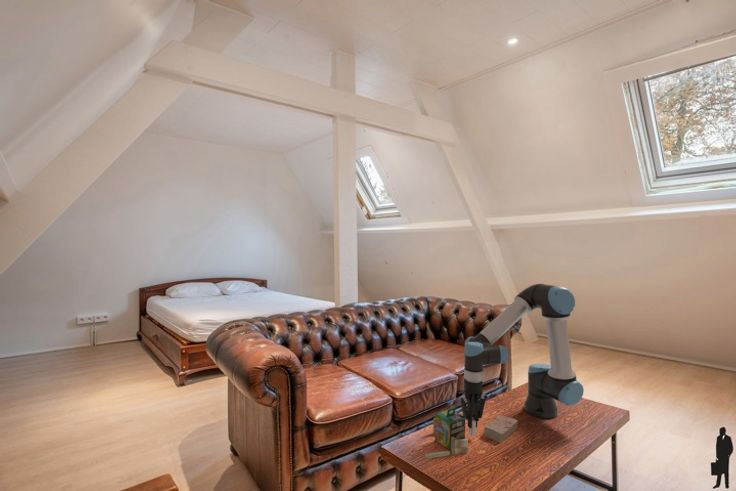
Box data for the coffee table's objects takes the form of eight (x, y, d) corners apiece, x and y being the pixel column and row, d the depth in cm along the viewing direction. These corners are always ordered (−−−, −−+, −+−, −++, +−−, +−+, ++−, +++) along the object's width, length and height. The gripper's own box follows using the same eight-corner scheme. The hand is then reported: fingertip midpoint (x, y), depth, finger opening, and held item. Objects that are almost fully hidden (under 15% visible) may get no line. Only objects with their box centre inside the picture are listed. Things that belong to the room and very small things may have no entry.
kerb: (448, 453, 146) (448, 450, 146) (449, 455, 145) (449, 452, 145) (425, 457, 143) (425, 454, 143) (426, 458, 142) (426, 455, 142)
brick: (501, 444, 154) (501, 432, 154) (482, 436, 160) (483, 425, 160) (518, 430, 165) (518, 419, 165) (500, 423, 171) (500, 413, 171)
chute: (447, 430, 163) (447, 416, 163) (468, 452, 146) (468, 436, 146) (433, 432, 161) (433, 418, 161) (452, 455, 145) (452, 438, 145)
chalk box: (450, 434, 160) (450, 400, 160) (466, 444, 153) (466, 408, 152) (434, 440, 155) (434, 405, 155) (449, 451, 148) (450, 414, 148)
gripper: (481, 375, 162) (480, 428, 162) (455, 377, 158) (454, 432, 159) (491, 381, 155) (490, 437, 155) (464, 384, 151) (462, 441, 151)
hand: (472, 434), depth 157 cm, fingers closed
